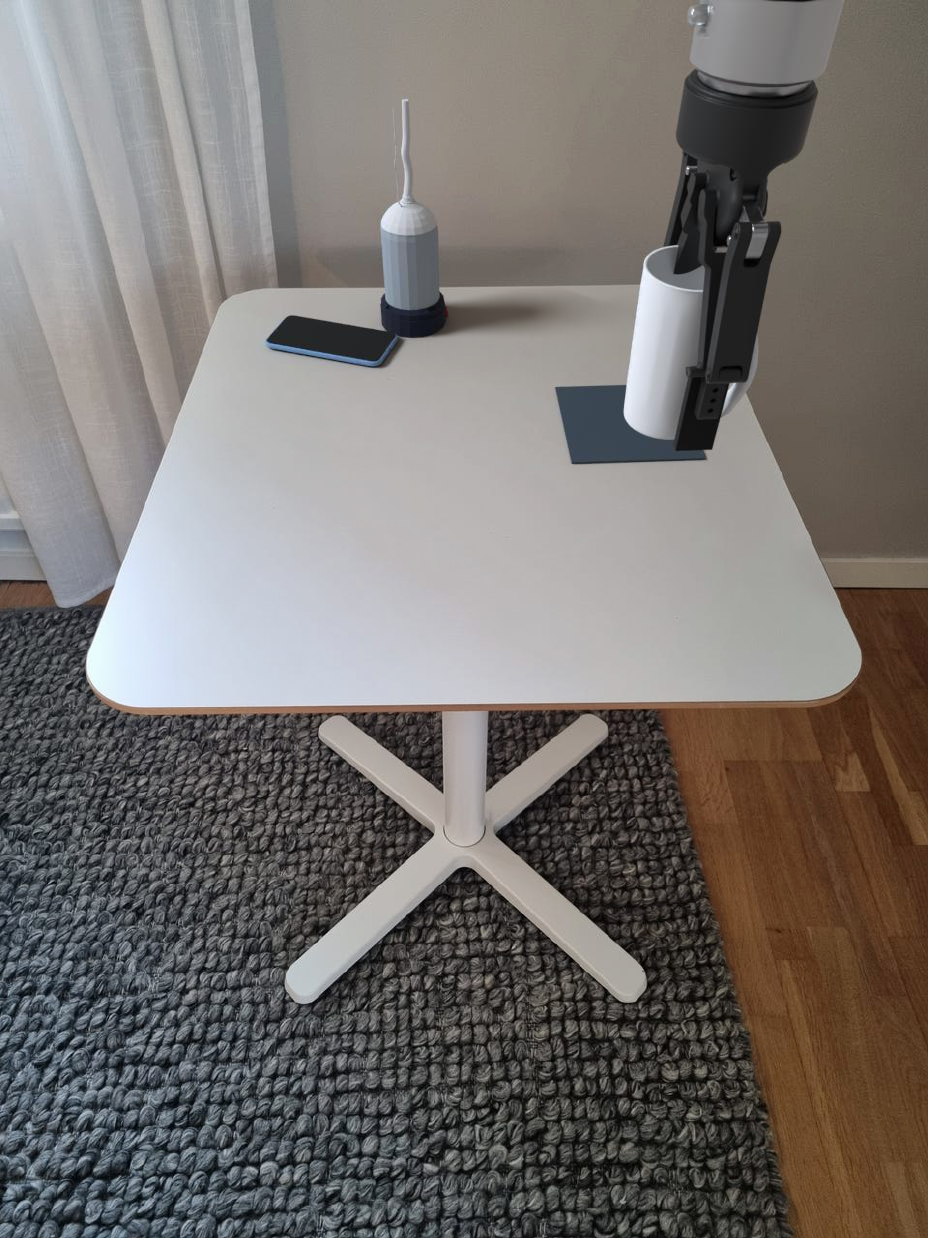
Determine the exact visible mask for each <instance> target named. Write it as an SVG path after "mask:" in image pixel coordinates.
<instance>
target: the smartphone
mask: <svg viewBox="0 0 928 1238" xmlns="http://www.w3.org/2000/svg"><path fill="white" fill-rule="evenodd" d="M397 341H398V336H397V335H396V334H395V333H393V332H388V331H386V330H382V329H378V328H377V329H375V328H370V327H365V326H358V325H353V324H347V323H341V322H335V321H330V320H324V319H318V318H312V317H306V316H300V315H293V314H289V315H287V316H285V317H284V318H283V319H282V320H281V322H280V323H279V324H278V325H277V326H276V327H275V329H273V330H272V332H271V333H270V334H269V335H268V336H267V337H266V338H265V346H266V347H267V348H269V349H273V350H279V351H284V352H289V353H295V354H300V355H306V356H312V357H318V358H323V359H328V360H333V361H334V360H335V361H339V362H345V363H350V364H355V365H361V366H367V367H378V366H379V365H381V364H382V363H383V362H384V360H385V359H386V357H387V356H388V355H389V354H390V352H391V351H392V349H393V348H394V346H395V344H397Z"/></svg>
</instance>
